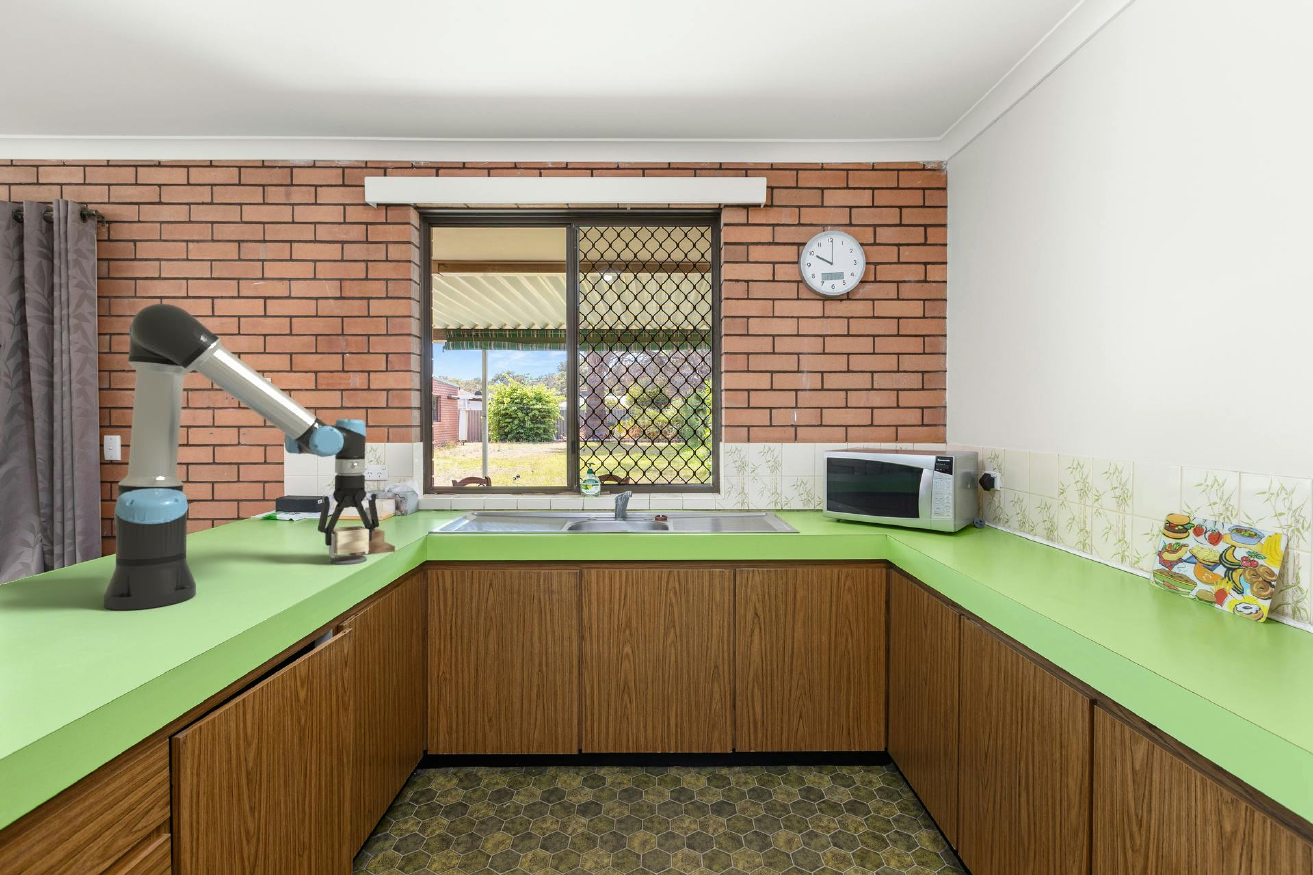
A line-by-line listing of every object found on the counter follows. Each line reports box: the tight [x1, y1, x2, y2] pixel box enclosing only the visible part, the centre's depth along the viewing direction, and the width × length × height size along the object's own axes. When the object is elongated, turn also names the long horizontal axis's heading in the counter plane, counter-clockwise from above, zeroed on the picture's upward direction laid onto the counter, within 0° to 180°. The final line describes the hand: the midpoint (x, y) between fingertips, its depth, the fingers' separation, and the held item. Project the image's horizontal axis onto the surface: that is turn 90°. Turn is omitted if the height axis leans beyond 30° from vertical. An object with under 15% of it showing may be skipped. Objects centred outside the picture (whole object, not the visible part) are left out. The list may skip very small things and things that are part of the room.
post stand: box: [351, 506, 396, 556], centre depth 182 cm, size 11×11×13 cm
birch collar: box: [332, 525, 369, 556], centre depth 167 cm, size 8×8×6 cm
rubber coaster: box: [330, 554, 368, 566], centre depth 168 cm, size 9×9×1 cm
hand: (348, 554), depth 167 cm, fingers closed on birch collar, 8 cm apart
